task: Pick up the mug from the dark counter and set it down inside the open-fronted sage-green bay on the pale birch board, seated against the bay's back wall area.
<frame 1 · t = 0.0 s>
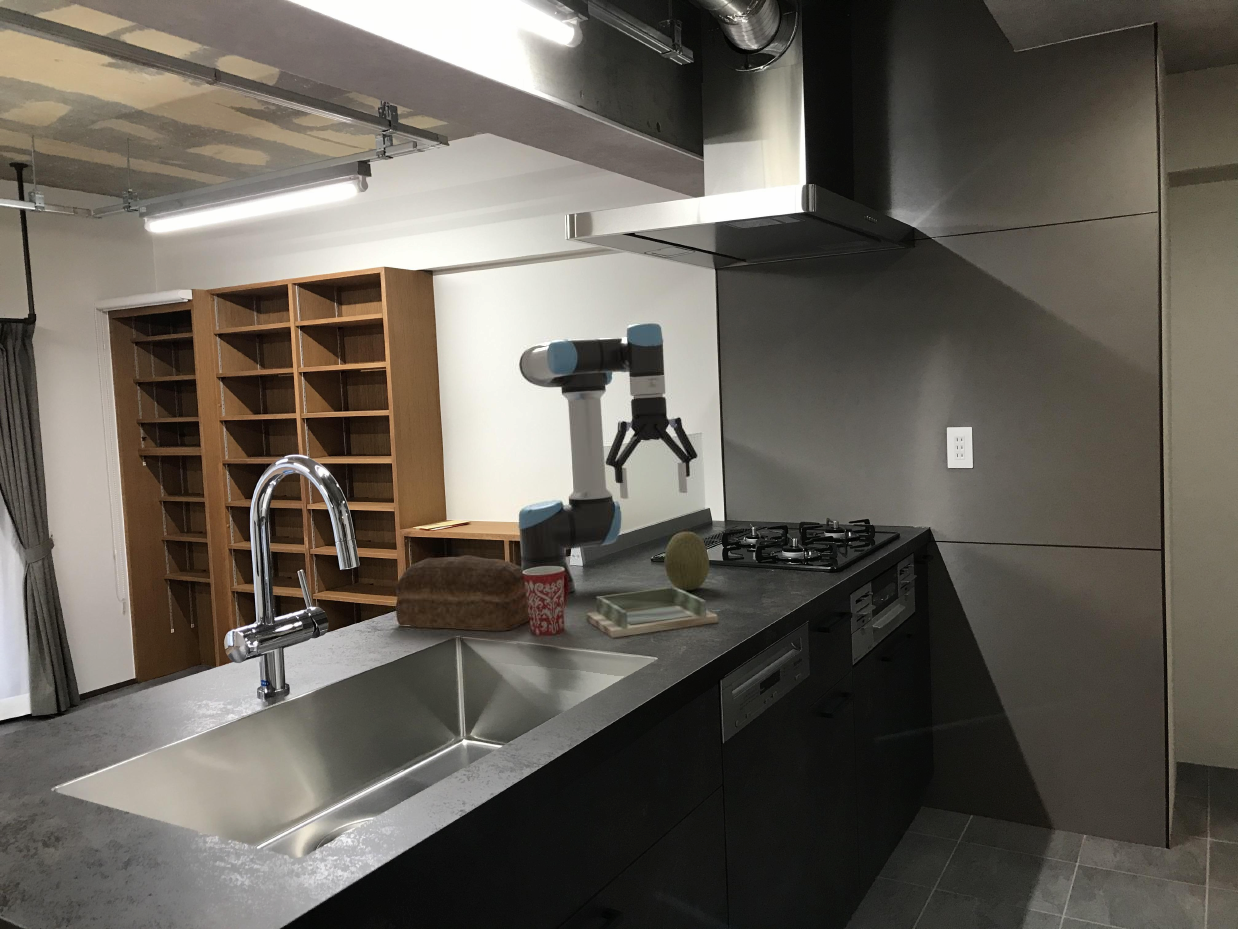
hand: (654, 495, 205), 28 cm above the worktop, fingers open, 13 cm apart
fruit: (688, 590, 240), on the worktop
bread: (466, 624, 219), on the worktop
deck: (650, 621, 210), on the worktop
mug: (552, 630, 208), on the worktop
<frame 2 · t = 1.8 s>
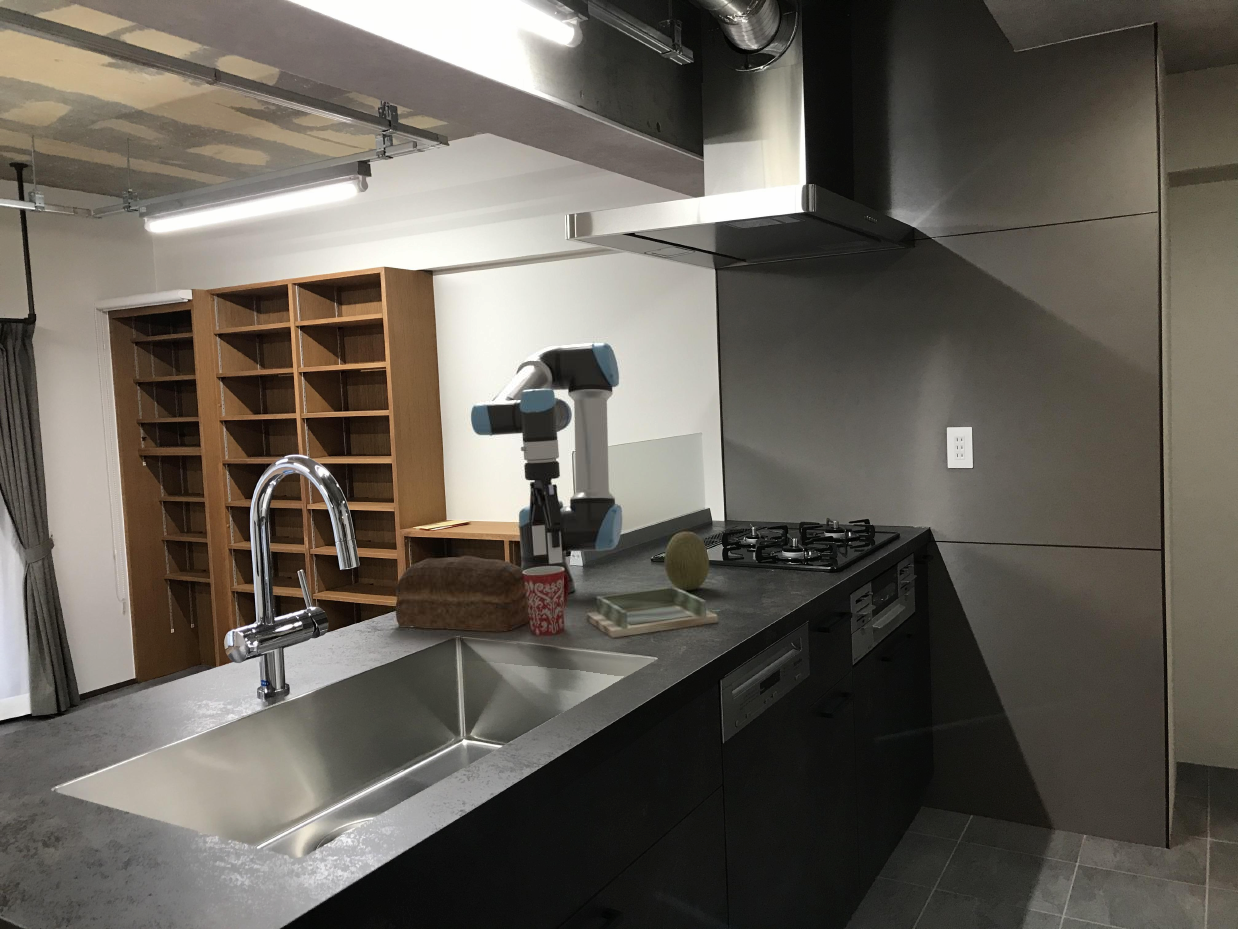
hand: (547, 558, 206), 16 cm above the worktop, fingers open, 13 cm apart
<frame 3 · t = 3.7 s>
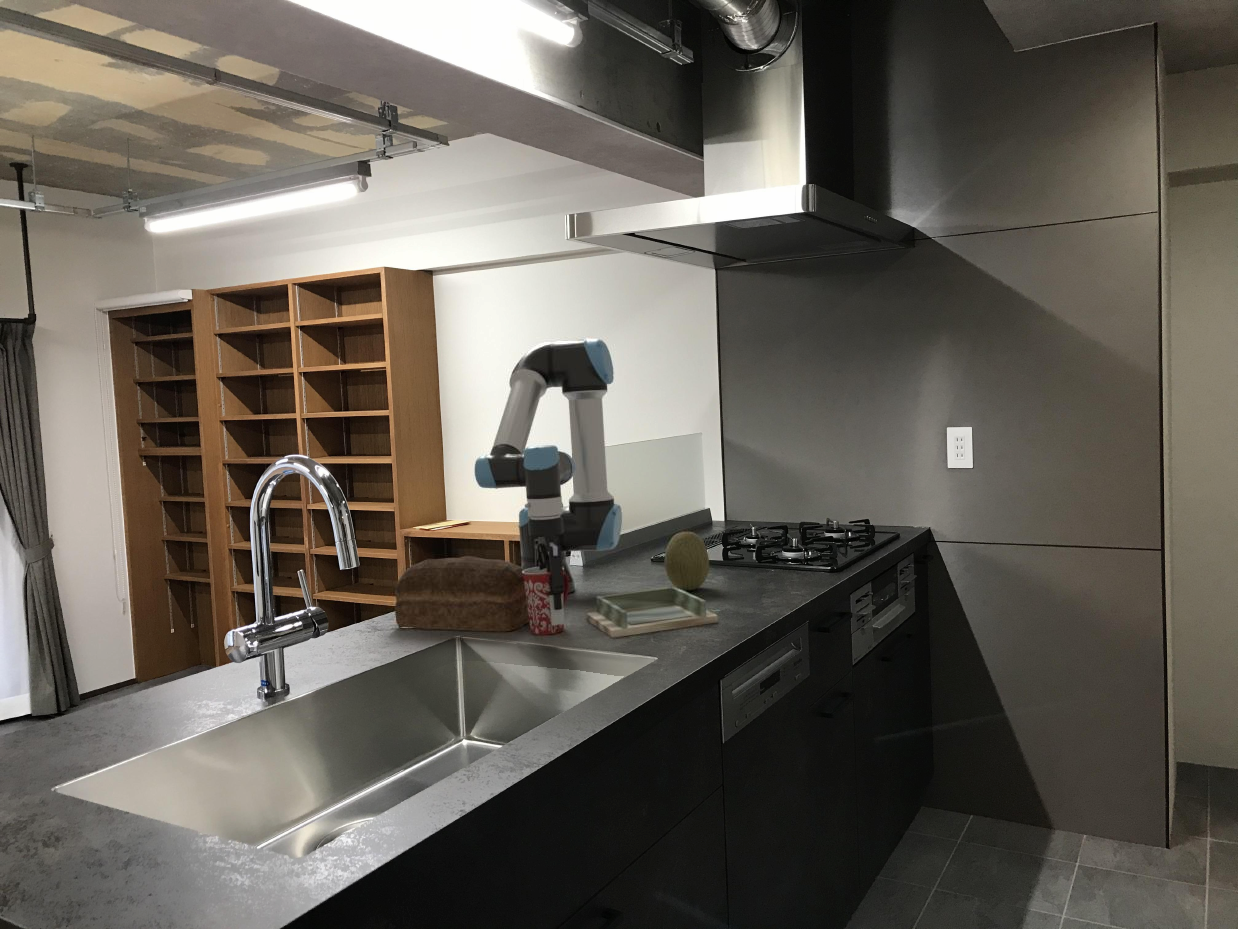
hand: (552, 619, 207), 2 cm above the worktop, fingers closed on mug, 9 cm apart
mug: (552, 630, 208), on the worktop, touching gripper
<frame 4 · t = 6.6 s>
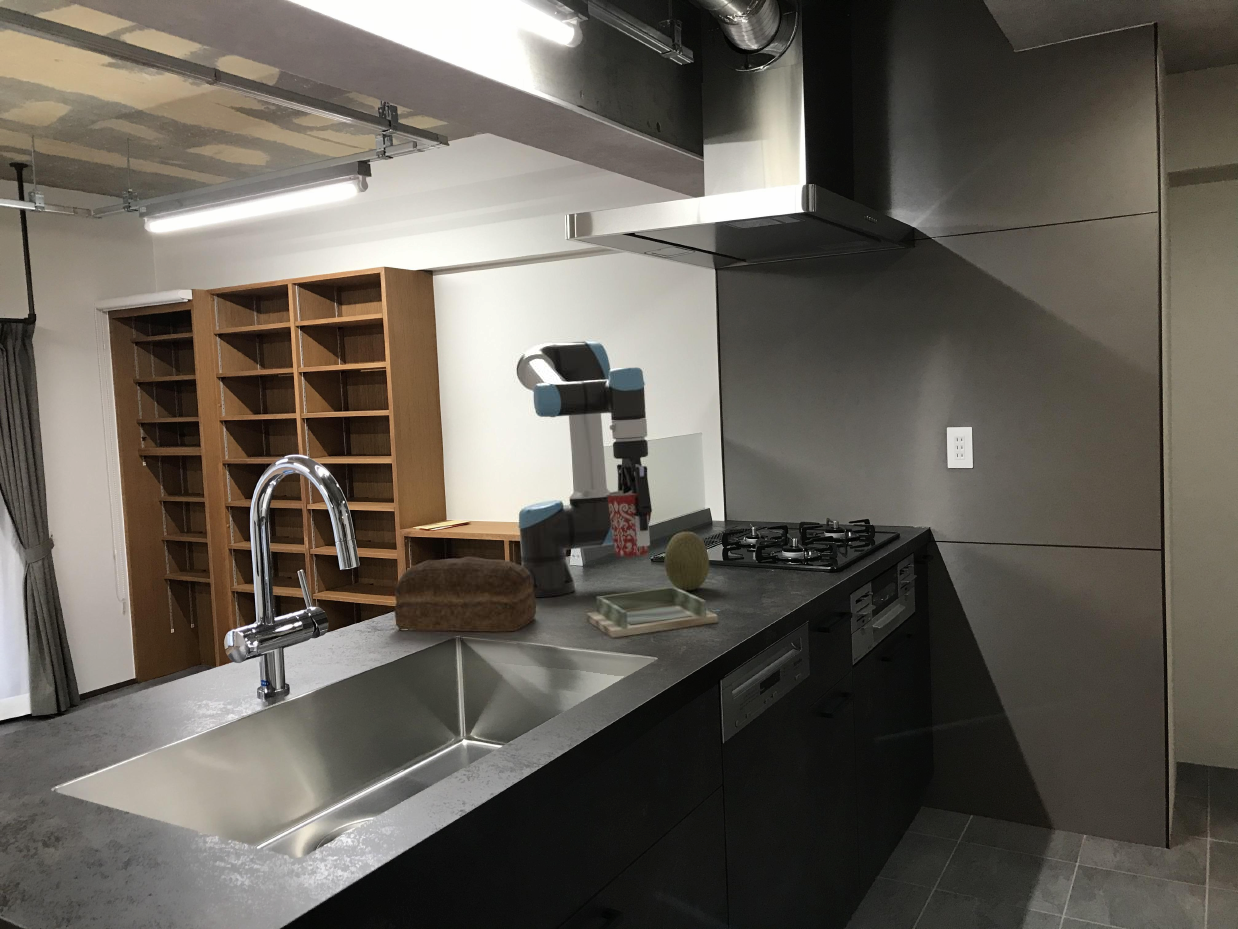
hand: (636, 542, 207), 18 cm above the worktop, fingers closed on mug, 9 cm apart
mug: (636, 553, 208), point 15 cm above the worktop, touching gripper
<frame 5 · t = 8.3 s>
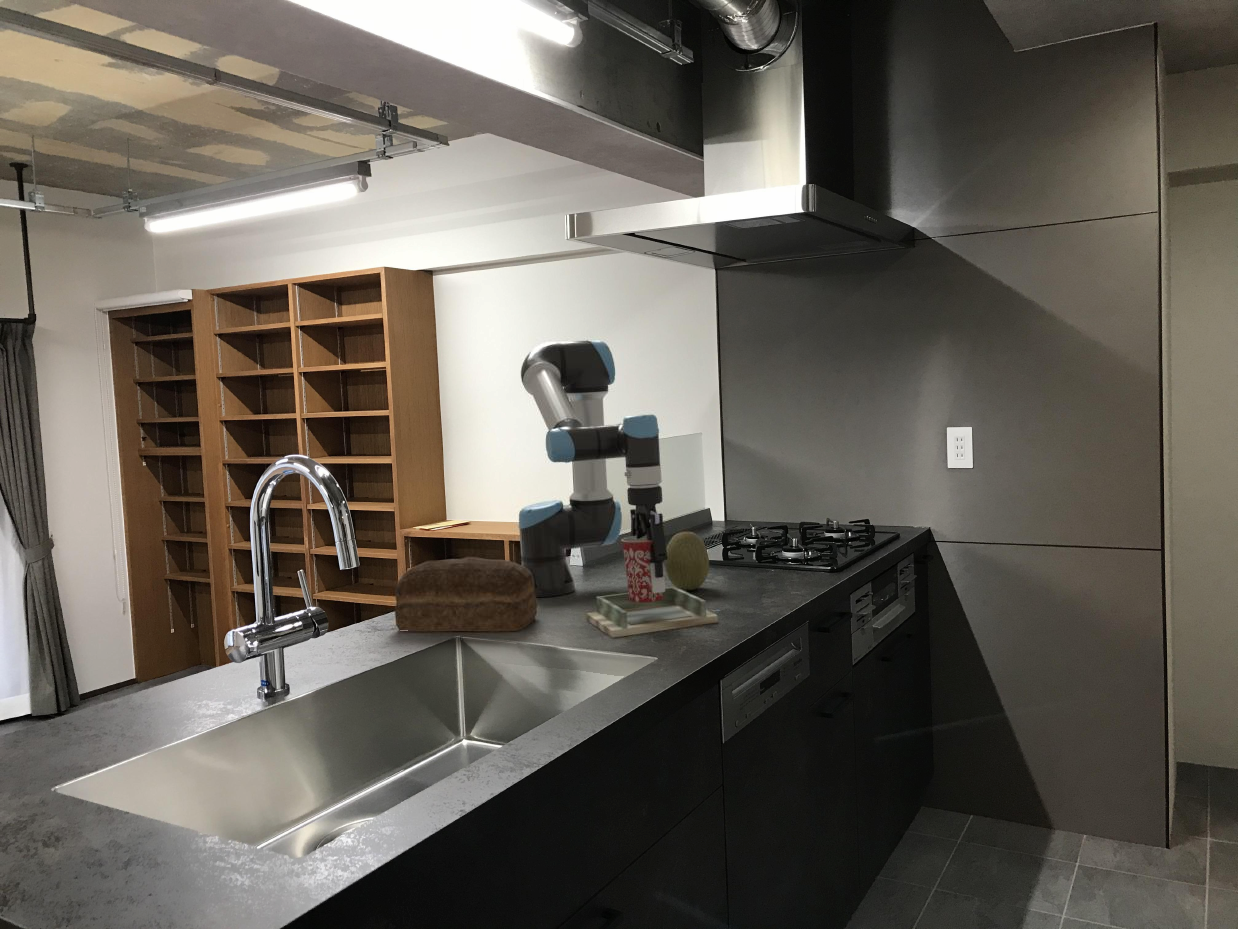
hand: (650, 588, 208), 8 cm above the worktop, fingers closed on mug, 9 cm apart
mug: (650, 598, 209), point 5 cm above the worktop, touching gripper
when the fingers open (5 cm above the worktop, at t = 9.6 s): mug drops 1 cm, resting on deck.
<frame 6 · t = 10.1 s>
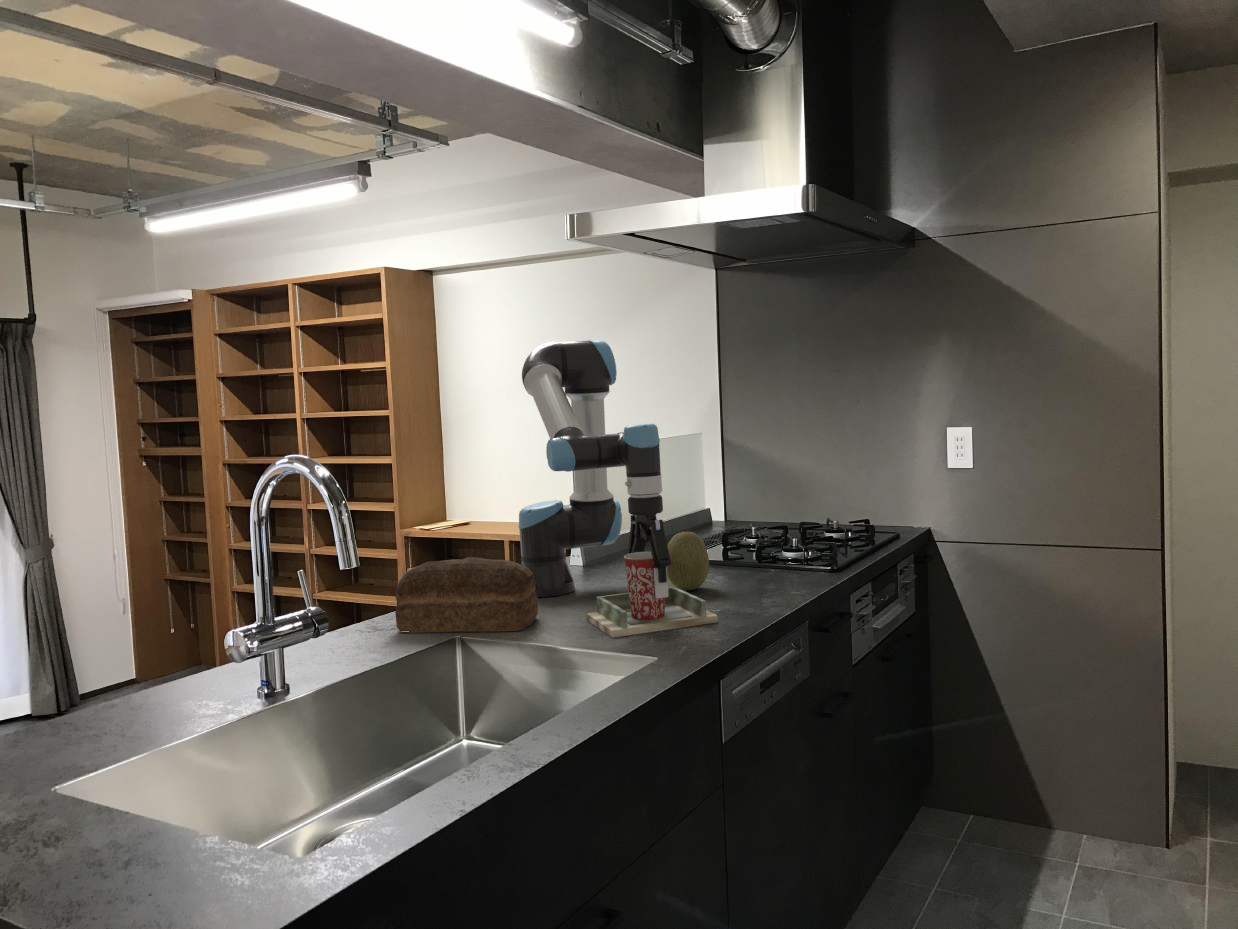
hand: (650, 591, 208), 7 cm above the worktop, fingers open, 13 cm apart
mug: (652, 615, 208), point 2 cm above the worktop, touching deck
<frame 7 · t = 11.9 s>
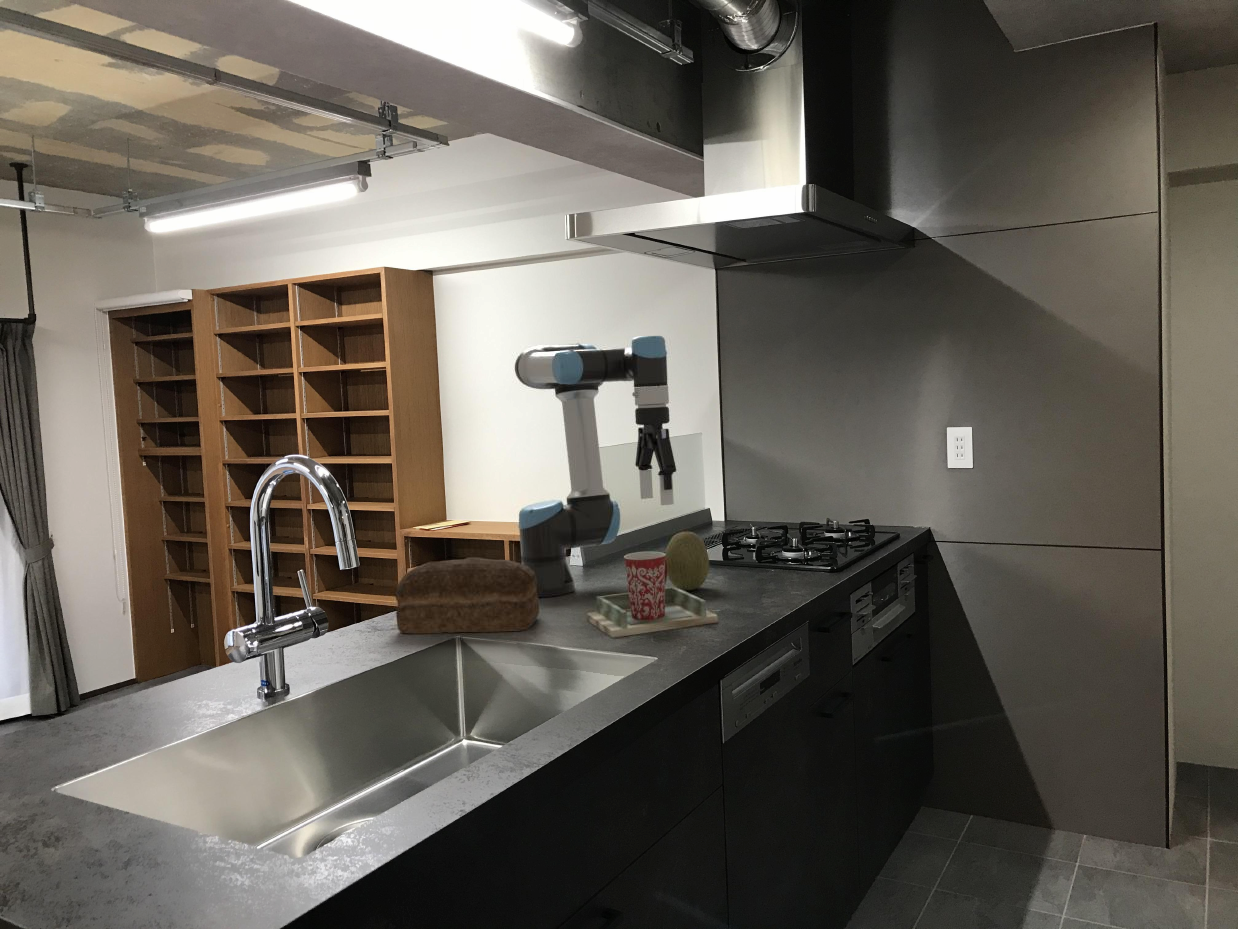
hand: (656, 501, 212), 26 cm above the worktop, fingers open, 13 cm apart
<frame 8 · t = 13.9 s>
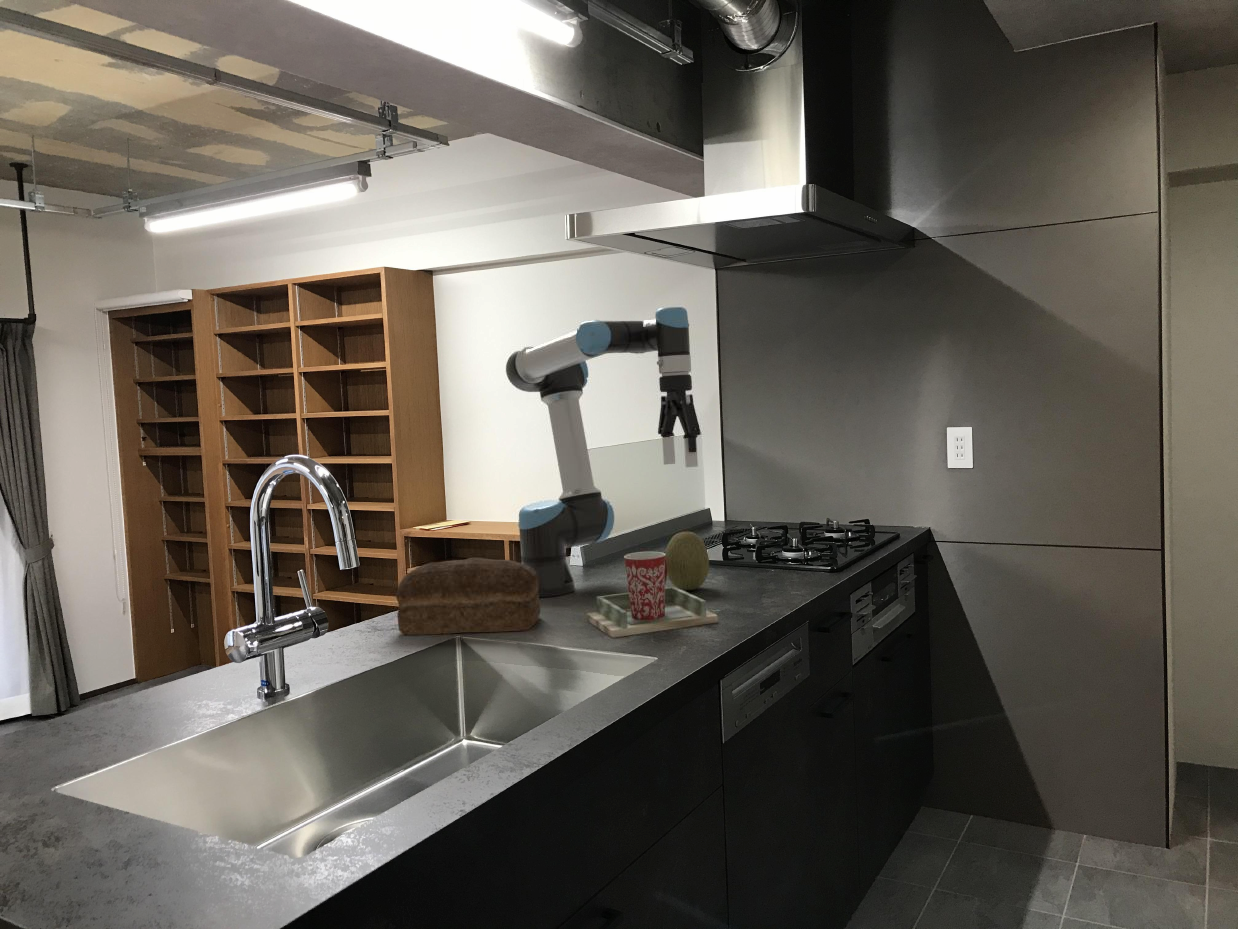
hand: (680, 465, 223), 33 cm above the worktop, fingers open, 13 cm apart
at the end: mug inside the target area on the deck (0.1 cm from its centre), point 1.5 cm above the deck's base; mug tilted 0°; the gripper is holding nothing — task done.
